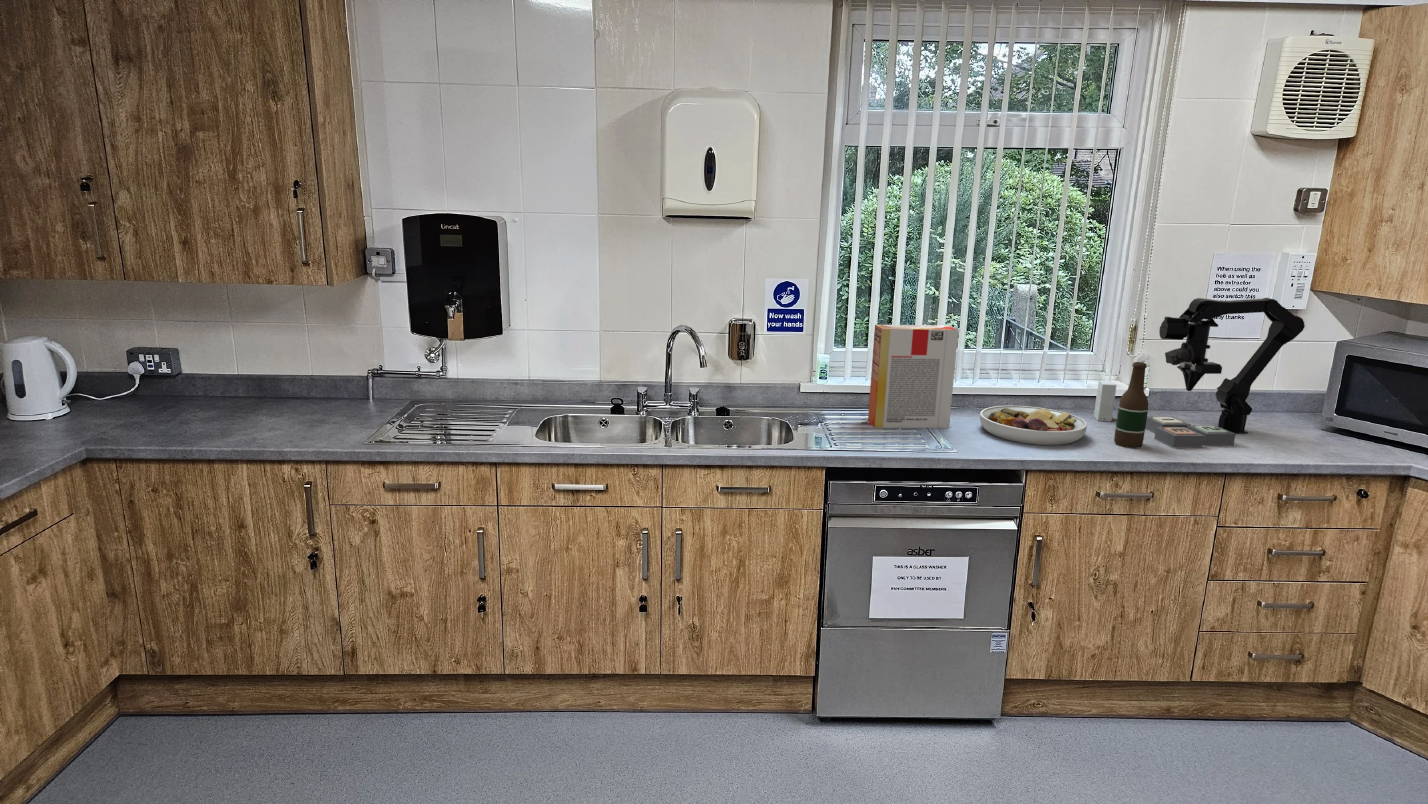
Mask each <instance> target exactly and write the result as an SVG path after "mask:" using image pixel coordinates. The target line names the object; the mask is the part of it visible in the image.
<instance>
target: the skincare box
mask: <svg viewBox="0 0 1428 804" xmlns="http://www.w3.org/2000/svg"><path fill="white" fill-rule="evenodd" d="M1116 390H1117V384H1116V383H1115V382H1114V381H1110V380H1098V383H1097V390H1096V399H1095V405H1094V413H1093V417H1094V418H1095V419H1096V420H1097V421H1099V422H1112V419H1113V412H1114V407H1115V406H1114V405H1115V398H1116Z"/></svg>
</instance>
